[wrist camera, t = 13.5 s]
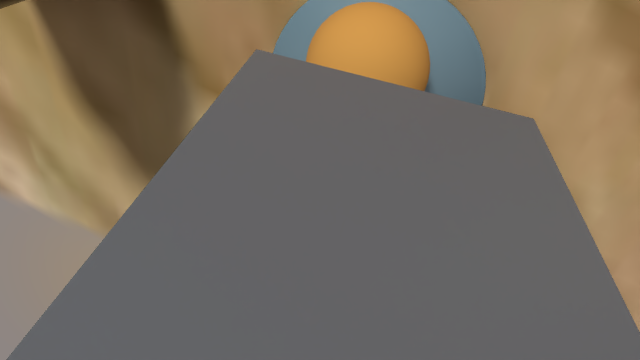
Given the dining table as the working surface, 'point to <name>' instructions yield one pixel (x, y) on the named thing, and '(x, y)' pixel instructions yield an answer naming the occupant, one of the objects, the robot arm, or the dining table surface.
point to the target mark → (437, 28)
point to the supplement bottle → (8, 2)
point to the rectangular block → (344, 238)
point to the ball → (373, 45)
